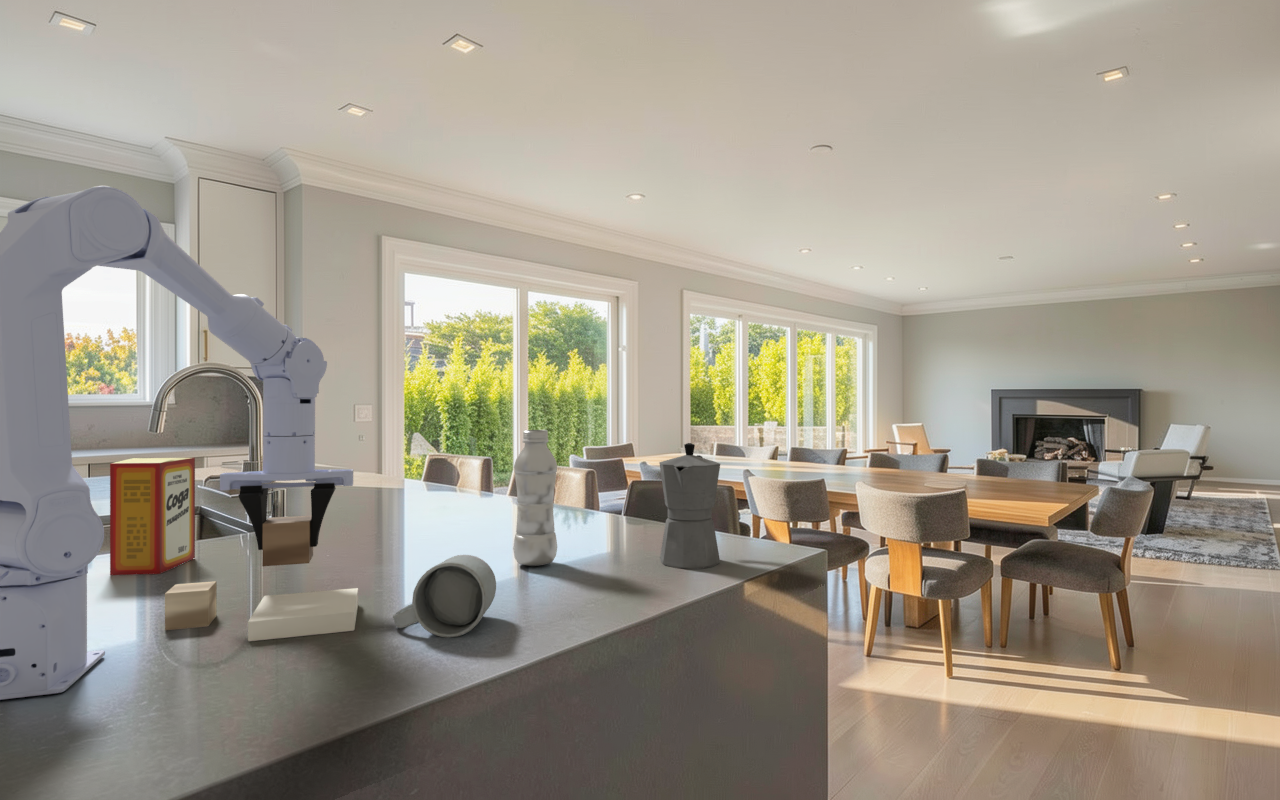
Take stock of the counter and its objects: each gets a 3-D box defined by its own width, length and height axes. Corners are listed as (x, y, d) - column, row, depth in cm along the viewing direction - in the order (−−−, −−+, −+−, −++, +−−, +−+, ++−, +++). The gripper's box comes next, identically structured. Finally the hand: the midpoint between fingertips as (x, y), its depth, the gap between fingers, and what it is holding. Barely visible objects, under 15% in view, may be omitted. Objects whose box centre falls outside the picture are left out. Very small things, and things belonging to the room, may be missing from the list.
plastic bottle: (505, 568, 102) (505, 431, 102) (525, 558, 109) (525, 429, 109) (545, 571, 100) (545, 431, 100) (564, 561, 107) (564, 429, 107)
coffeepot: (712, 574, 99) (712, 446, 99) (647, 570, 102) (647, 445, 102) (729, 551, 114) (729, 440, 114) (672, 548, 116) (672, 439, 116)
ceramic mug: (499, 613, 81) (498, 546, 81) (486, 637, 73) (484, 563, 73) (406, 615, 81) (405, 548, 81) (382, 640, 72) (381, 565, 72)
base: (354, 630, 75) (354, 611, 75) (248, 641, 71) (248, 621, 71) (358, 604, 84) (358, 587, 84) (264, 613, 81) (264, 595, 81)
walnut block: (309, 563, 85) (309, 521, 85) (262, 566, 83) (262, 524, 83) (313, 555, 89) (313, 515, 89) (269, 557, 88) (269, 517, 88)
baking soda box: (149, 559, 108) (149, 455, 108) (194, 558, 109) (194, 455, 109) (110, 575, 99) (110, 460, 99) (159, 573, 99) (159, 460, 99)
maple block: (208, 627, 76) (207, 590, 76) (164, 631, 75) (164, 593, 75) (216, 616, 80) (216, 581, 80) (175, 620, 79) (175, 584, 79)
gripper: (354, 433, 92) (354, 537, 92) (228, 435, 88) (228, 544, 87) (352, 436, 86) (351, 547, 86) (215, 437, 81) (215, 556, 81)
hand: (288, 546), depth 86 cm, fingers closed on walnut block, 5 cm apart
